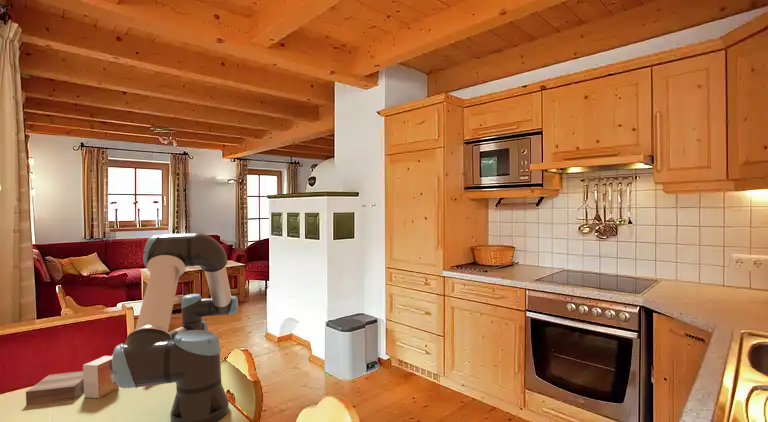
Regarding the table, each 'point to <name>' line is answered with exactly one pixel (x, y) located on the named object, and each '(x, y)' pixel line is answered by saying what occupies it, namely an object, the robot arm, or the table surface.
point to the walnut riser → (56, 388)
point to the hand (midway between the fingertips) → (127, 360)
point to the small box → (99, 377)
